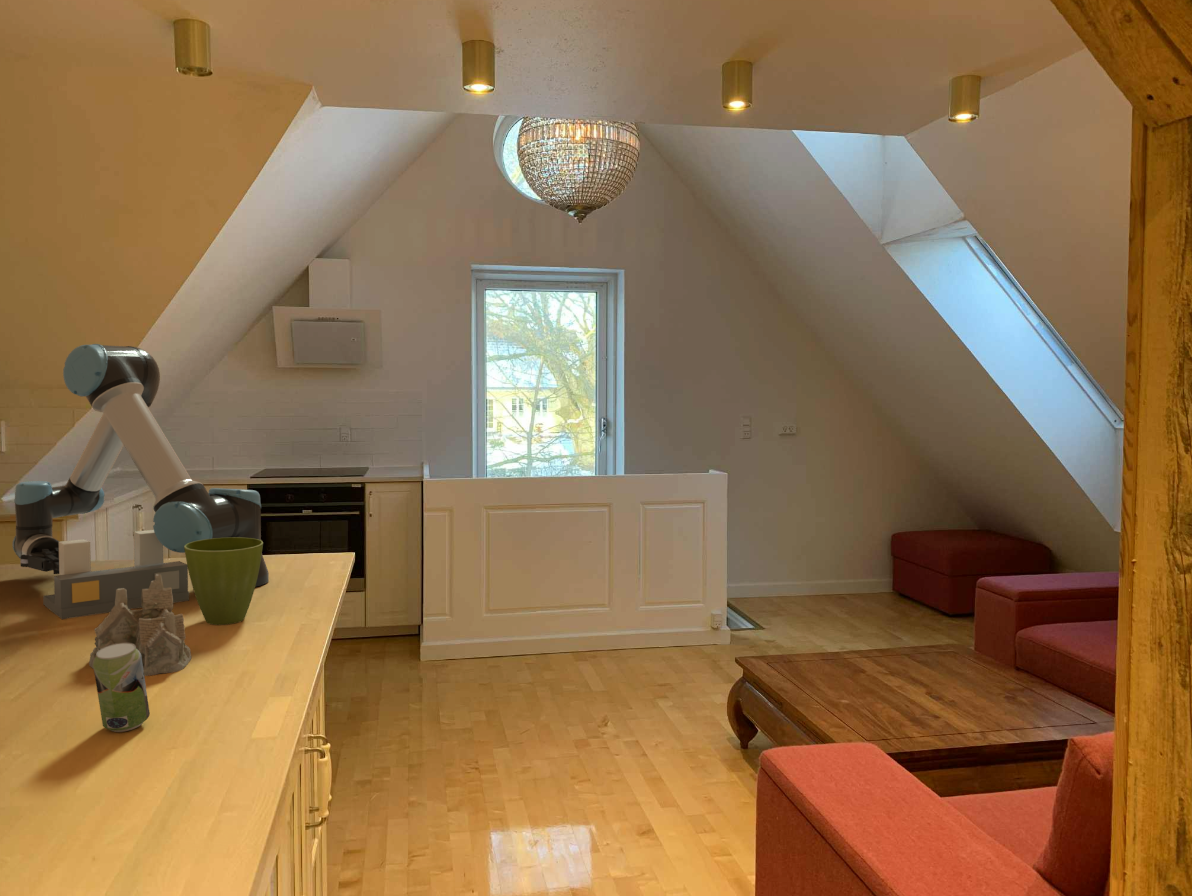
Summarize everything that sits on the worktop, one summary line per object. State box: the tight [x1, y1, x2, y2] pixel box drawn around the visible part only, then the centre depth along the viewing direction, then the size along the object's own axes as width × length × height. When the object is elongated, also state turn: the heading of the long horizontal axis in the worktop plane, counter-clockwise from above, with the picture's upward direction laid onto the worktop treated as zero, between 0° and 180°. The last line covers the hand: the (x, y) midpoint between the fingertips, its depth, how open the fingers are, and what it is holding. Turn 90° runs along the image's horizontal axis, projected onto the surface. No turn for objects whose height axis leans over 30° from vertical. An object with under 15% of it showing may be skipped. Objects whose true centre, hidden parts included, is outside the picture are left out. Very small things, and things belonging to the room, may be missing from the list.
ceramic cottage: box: [88, 574, 192, 677], centre depth 156 cm, size 16×16×15 cm
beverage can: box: [93, 643, 151, 733], centre depth 128 cm, size 6×7×12 cm
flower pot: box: [184, 537, 264, 626], centre depth 184 cm, size 15×15×16 cm
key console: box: [42, 560, 190, 620], centre depth 197 cm, size 15×25×8 cm, turn 134°
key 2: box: [133, 529, 164, 567], centre depth 205 cm, size 4×5×12 cm
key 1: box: [58, 538, 92, 575], centre depth 191 cm, size 4×5×12 cm
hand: (71, 569), depth 193 cm, fingers closed
